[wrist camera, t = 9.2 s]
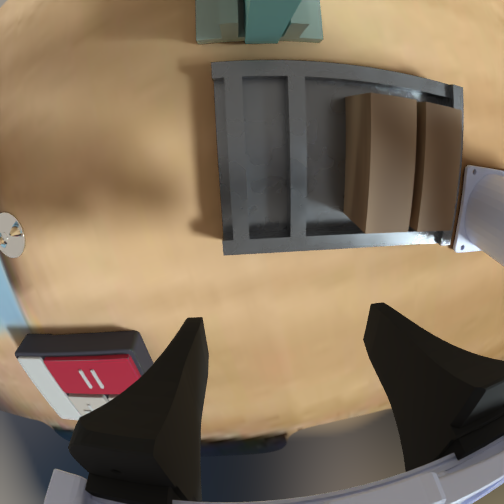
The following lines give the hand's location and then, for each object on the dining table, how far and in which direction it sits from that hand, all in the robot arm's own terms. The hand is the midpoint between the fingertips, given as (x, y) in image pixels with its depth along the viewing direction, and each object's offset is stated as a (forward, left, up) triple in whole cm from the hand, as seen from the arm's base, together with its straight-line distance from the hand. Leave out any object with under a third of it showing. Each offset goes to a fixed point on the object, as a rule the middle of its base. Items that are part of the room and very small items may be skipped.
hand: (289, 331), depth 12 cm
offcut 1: (-7, -6, -9) cm, 13 cm away
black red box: (+18, +14, -11) cm, 26 cm away
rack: (-5, -6, -10) cm, 13 cm away
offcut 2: (-10, -6, -9) cm, 15 cm away
